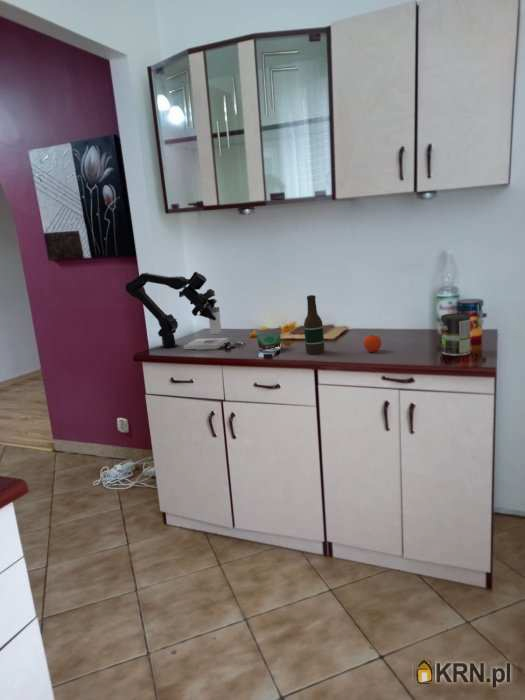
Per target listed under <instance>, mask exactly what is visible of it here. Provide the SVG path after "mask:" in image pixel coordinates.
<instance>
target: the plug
mask: <svg viewBox="0 0 525 700" xmlns="http://www.w3.org/2000/svg"><path fill="white" fill-rule="evenodd" d="M209 311H210V312H211V313H212V314H213V315H214V317H215V318H216V320H212V319H209V318H208V320H209V321H208V322H209V333H210V334H220V333H221V332H222V323H221V313H220V306H214V307H211V308H209Z"/></svg>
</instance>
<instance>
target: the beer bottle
mask: <svg viewBox="0 0 525 700" xmlns="http://www.w3.org/2000/svg"><path fill="white" fill-rule="evenodd" d="M306 300H307V301H306V302H307V315H306V317H305V319H304V322H303V331H304V344H305V352H306V354H307V355H310V356H311V355H313V356H314V355H321V354H323V353H325V339H324V325H323V320H322V318H321V317H320V316H319V314H318V313H319V312H318V310H317V309H318V307H317V302H316V295H314V294H313V295H311V294H310V295H306Z"/></svg>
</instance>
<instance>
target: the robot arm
mask: <svg viewBox="0 0 525 700" xmlns="http://www.w3.org/2000/svg"><path fill="white" fill-rule="evenodd" d="M207 281H208V280H207V277H206V276H204V275H202V273H199V272H198V271H194V272H193V273H192V275H191V277H190V278H186V277H185V276H183V275H182V276H166V275H160V274H154V273H149V272H143V273H140V275H139V276H137V277H135V278H134V279H133V280H131V281H130V282H127V283H126V284H125V292H126V293H127V294H129V295H130V296H131V297H133V298H135V299H137V300H138V301H139V302H140V303H141V304H142V305H143V306H144V307H145V309H147V310H148V311H149V312H150V313H151V315H152V316H153V317H154V318H155V319H156V320H157V322H158V325H159V327H160V329H159V330H158V331H157V334H158V337H161V342H162V343H161V346H160V347H159V348H162V349H163V348H164V349H170V348H174V347H178V346H179V345H178V344H176V339H175V333H176V331H177V329H178V328H179V327H178V326H179V323H178V321H177V318H175V317H174V316H173V314H172V313H170V314H167V313H165V312H164V311H163V310H162V309H161V308H160V307H159V306H158V305H157V303H155V301H154V300H153V299H152V298H151V297H150V296H149V295H148V293H146V289H145V287H144V286H146V285H147V283H151V284H152V283H153V284H157V285H158V284H159V285H164V286H167V287H168V288H170V289H173V290H177V291H178V290H180V291H179V292H178V293H179V295H178V297H179V298H183V297H185V298H186V299H187V300H188V301H189V304H190V305H193V306H194V308H193V309H192V310H191V314H192V315H193V316H194V317H196V316H199V317H204V318H206V319H208V320H209V319H212V320H216V318H215V317H214V315H213V314H212V313H211V312H210V311H209V308H211V307H215V305H216V303H217V302H218V300H217V299H215V298H212V297H215V296H216V294H215V293H216V292H215V290H214V289H213V288H212V289H211V288H209V289H207V290H206V292H204V293H201V292H200V293H199V292H198V291H197V290H201V288H202V287H203V286H204V285H205V283H206V282H207ZM198 313H199V314H198Z"/></svg>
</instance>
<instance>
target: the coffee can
mask: <svg viewBox="0 0 525 700" xmlns="http://www.w3.org/2000/svg"><path fill="white" fill-rule="evenodd" d="M440 319H441V320H440V321H441V323H440V324H441V325H440V326H441V354H443V355H445V356H451V357H453V356H454V357H458V356H459V357H460V356H466V355H467V356H468V355H470V354H471V315H470V314H468V313H447V314H443V315H441V316H440Z"/></svg>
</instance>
